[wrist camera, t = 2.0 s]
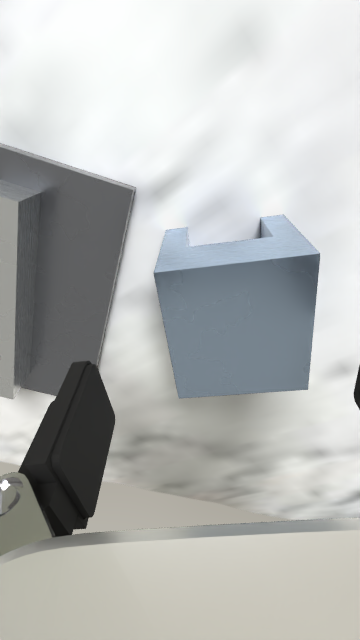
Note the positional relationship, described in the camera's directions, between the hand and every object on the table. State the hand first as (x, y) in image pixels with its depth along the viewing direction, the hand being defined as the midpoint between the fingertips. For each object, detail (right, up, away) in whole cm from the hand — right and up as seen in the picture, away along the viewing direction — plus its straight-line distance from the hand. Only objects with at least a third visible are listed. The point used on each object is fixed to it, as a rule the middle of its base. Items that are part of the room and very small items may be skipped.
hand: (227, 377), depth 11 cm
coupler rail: (-12, +4, +9) cm, 15 cm away
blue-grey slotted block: (+1, +4, +8) cm, 9 cm away
